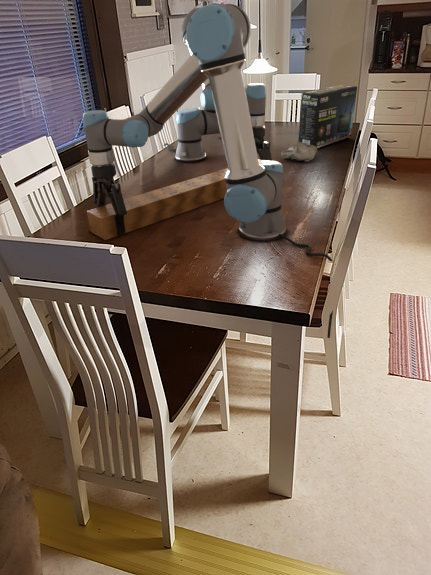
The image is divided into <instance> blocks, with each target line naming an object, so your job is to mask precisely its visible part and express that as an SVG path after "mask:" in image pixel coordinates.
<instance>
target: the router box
mask: <svg viewBox="0 0 431 575" xmlns="http://www.w3.org/2000/svg"><path fill="white" fill-rule="evenodd" d="M357 93H358V86H356V85H350V84H339V85H338V84H337V85H334V86H328V87H324V88H318V89H314V90H309V91H304V92H301V93H300V109H299V110H300V111H299V124H298V137H297V143H298V142H303V143H307V144H308V145H314V146H315V147H317V146H320V145H323V144H325V143H328V142H331V141H333V140H336V139H338V138H341V137H344V136H347V135H351V136H352V133H353V132H352V131H353V125H354V115H355V109H356V99H357Z"/></svg>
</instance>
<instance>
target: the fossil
mask: <svg viewBox="0 0 431 575" xmlns="http://www.w3.org/2000/svg"><path fill="white" fill-rule="evenodd" d="M316 152H317V153H318V149H317V147H315V146H314V145H308V144H307V143H303V142H298V141H297V143H296V145H291V146H289V148H288V149H284V150H282V151H281V152H280V156H281V158H282V159H284V160H289V159H291V158H292V159H291V160H293V159H297V160H296V161H303V160H309V161H303V162H304V163H309V162H310V161H312V160H314V158H315V156H316V155H317V153H316ZM282 156H288V157H290V158H283V157H282Z"/></svg>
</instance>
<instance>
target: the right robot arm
mask: <svg viewBox="0 0 431 575" xmlns="http://www.w3.org/2000/svg"><path fill="white" fill-rule="evenodd" d="M198 8H199V9H198V10H196V11H195V12H194V14H193V15H192V16H191V18H190V20H189V22H188V25H187V31H186V39H187V44H188V47H189V49H190V51H191V52H192V55H191V54H190V56H189V57H188V58H187V59H186V60H185V61H184V63H183V64H182V65H181V66H180V67H179V68H178V69H177V70H176V72H175V73H174V74H173V75H172V76H171V77H170V78H169V79H168V81H167V82H165V84H164V85H163V86H162V88H160V90H159V91H158V92H157V93H156V94H155V95H154V96H153V98H151V100H149V102H148V103H147V105H145V107H144V108H143V109H142V110H141V111H140V112H139V113H136V114H134V115H132V116H129V117H127V118H123V119H122V118H121V119H117V118H116V119H114V118H109V113H108V112H107V111H106V110H103V109H96V110H89V111H85V112H84V113H83V114H82V123H83V131H84V136H85V141H86V145H87V154H88V159H89V163H90V165H91V166H90V170H91V176H92V177H91V182H92V192H93V193H92V196H93V204H94V205H96V208H98V207H101V206H104V205H107V203H106V199H107V198H108V199H109V203H110V204H112V206H113V209H114V211H115V214H116V215H115V216H114V217H115V221H116V228H117V234H118V235H119V236H121V235H124V234H127V233H126V231H125V224H124V217H123V215H126V214H127V211H126V207H125V204H124V197H123V193H122V189H121V184H120V183H115V179H114V177H115V176H116V175H117V168H116V163H115V155H114V153H115V151H114V149H113V148H114V147H113V146H116V147H127V148H142V147H144V146H145V145H146V143H147V142H148V140H149V138H151V137H153V136H156V135H158V134H159V133H160V132H161V131H163V128H164V126H165V124H166V123H167V122H168V120H169V119H170V118H171V117H172V116H173V115H174V114H175V113H177V112H178V111H179V110H180V108H181V107H182V106H183V105H184V104H185V103H186V102H187V101H188V100H189V99H190V98H191V97H192V95H194V93H196V92H197V90H198V89H199V88H200V87H202V84H203V83H204V82H205V81H206V80H207V79H208V78H209V82H210V87H211V92H212V96H213V101H214V106H215V110H216V115H217V119H218V124H219V129H220V134H221V136H220V138H221V143H222V148H223V151H224V156H225V161H226V165H227V168H228V171H227V173H226V174H225V176H224V177H225V182H226V187H227V192H226V194H225V197H224V198H223V205H224V208H225V210H226V213H227V214H228V215H229V216H230V217H231V218H232V219H234V220H235V221H237V222H239V225H238V232H239V235H240V236H241V237H242V238H244V239H247V240H250V241H254V242H271V241H277V240H279V239H281V238H282V239H284V240H285V241H287V242H288V243H290V244H292V245H293V246H296V247H301V248H303V247H304V248H307V249H306V254H307V255H309V256H311V257H323V258H326V259H327V260H328V261H329V262H333V259H332V258H331V257H330V256H329V255H328V254H326V253H323V252H311V249H312V246H311V245H310V244H306V243H297V242H295V241H294V240H292V239H291V238H290V237H287V236H286V234H287V223H286V221H285V216H284V214H283V210H282V200H283V181H284V180H283V179H284V168H283V167H284V166H283V164H282V163H281V162H279V161H276V160H272V161H270V160H260V159H259V155H258V153H257V151H256V146H255V140H254V135H253V129H252V124H251V119H250V113H249V108H248V103H247V97H246V92H245V86H246V85H245V82H244V77H243V72H242V68H243V66H244V65H245V62H246V53H245V48H246V47H247V45H248V43H249V41H250V37H251V33H252V26H251V21H250V18H249V16H248V14H247V13H246V11H245V10H244V9H242V7H240V6H238V5H236V4H233V3H216V2H215V3H207V5H203V6H201V7H198ZM188 47H187V48H188ZM189 49H188V50H189ZM190 51H189V52H190ZM244 85H245V86H244ZM123 233H124V234H123ZM333 314H334V310H332V311H331V313H330V314H329V317H328V325H327V326H328V327H327V339H330V338H331V331H332V321H333Z"/></svg>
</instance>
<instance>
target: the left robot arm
mask: <svg viewBox="0 0 431 575" xmlns="http://www.w3.org/2000/svg"><path fill="white" fill-rule="evenodd" d="M199 8H200V7H195V8H193V9H191V10H190V11H188V13H187V14H186V15H185V17H184V19H183V21H182V24H181V39H182V42H183V45H184V46H185V47H186V48H188V51H189V54H190V56H191V55H192V52H191V51H190V49H189V47H188V44H187V39H186V31H187V25H188V22H189V20H190V18H191V16H192V15H193V14H194V12H195V11H196V10H198V9H199ZM244 86H245V92H246V97H247V103H248V108H249V113H250V119H251V124H252V129H253V135H254V140H255V146H256V151H257V155H258V158H259V160H270V161H273V159H272V158H273V157H272V152H271V141H265V139H264V138H265V136H266V127H265V126H266V108H267V107H266V106H267V88H266V87H267V86H266V85H265V84H264V83H261V82H252V83H248V84H246V85H245V84H244ZM201 88H202V91H200V97H199V98H200V105H201V107H202V109H201V108H200V107H199V106H190V107H189V106H188V107H185V108H182V109H179V110H177V111H176V114H175V124H176V133H177V136H176V137H177V145H176V149H175V148H173V146H172V145H171V144H169V143H167V142H165V143H164V144H163V147H166V146H168V147H169V150H170V151H172V152H175V157H174V158H175V160H176V161H178V162H181V163H195V162H196V163H197V162H200V161H203V160H206V158H207V152H206V150H205V147H204V145H203V144H204V143H203V140H202V137H203V136H208V135H218V134H219V135H220V134H221V133H220V129H219V124H218V119H217V115H216V110H215V106H214V101H213V96H212V92H211V87H210V82H209V78H208V79H207V80H206V81H205V82H204V83H203V84H202V85H201Z"/></svg>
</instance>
